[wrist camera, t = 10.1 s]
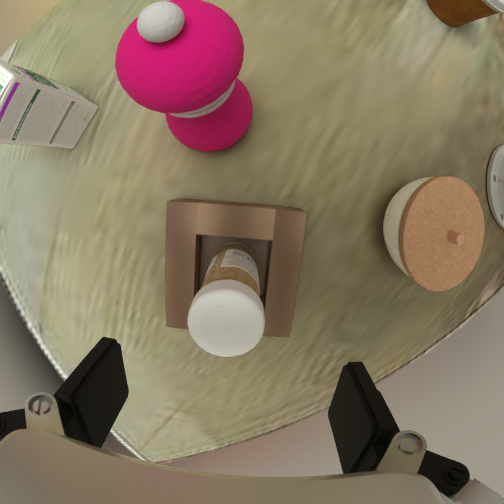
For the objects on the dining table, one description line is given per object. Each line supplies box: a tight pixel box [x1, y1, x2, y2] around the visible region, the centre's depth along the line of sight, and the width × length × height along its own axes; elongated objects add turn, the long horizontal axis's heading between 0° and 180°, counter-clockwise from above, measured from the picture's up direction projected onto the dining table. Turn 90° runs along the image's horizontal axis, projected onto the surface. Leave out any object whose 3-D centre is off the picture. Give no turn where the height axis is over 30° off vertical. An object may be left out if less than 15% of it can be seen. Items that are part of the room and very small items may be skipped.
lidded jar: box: [383, 176, 485, 292], centre depth 24 cm, size 11×11×9 cm
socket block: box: [165, 199, 307, 337], centre depth 27 cm, size 12×12×4 cm
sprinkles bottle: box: [187, 242, 265, 357], centre depth 22 cm, size 5×5×13 cm
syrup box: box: [0, 60, 99, 149], centre depth 18 cm, size 6×6×14 cm
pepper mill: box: [115, 0, 253, 152], centre depth 16 cm, size 7×7×20 cm
